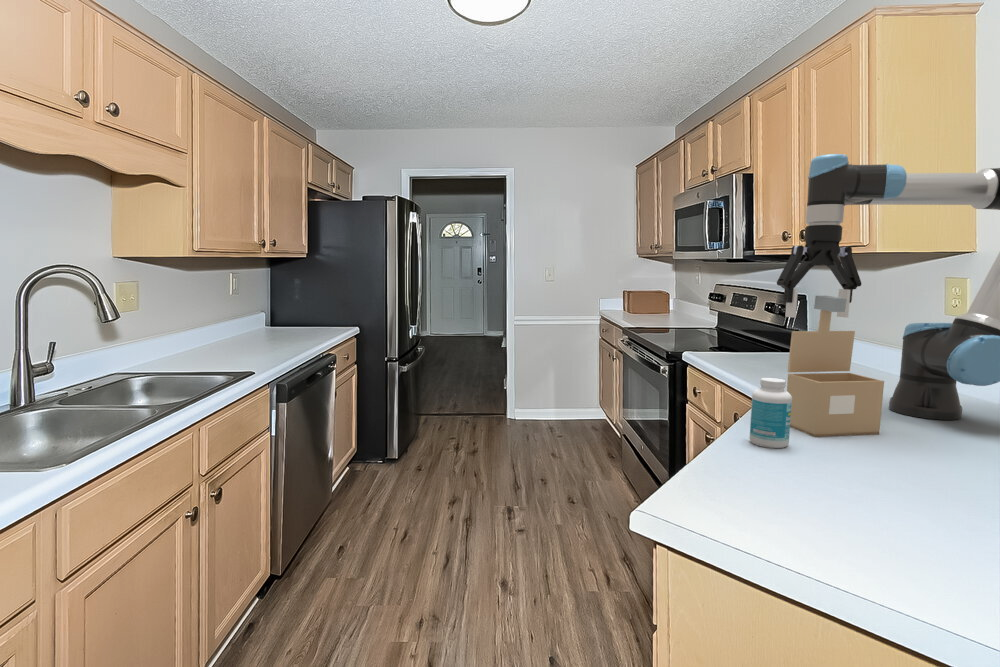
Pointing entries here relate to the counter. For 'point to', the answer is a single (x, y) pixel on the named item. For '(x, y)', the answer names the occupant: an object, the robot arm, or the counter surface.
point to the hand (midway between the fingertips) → (816, 317)
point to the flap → (822, 342)
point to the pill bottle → (771, 414)
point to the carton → (835, 404)
